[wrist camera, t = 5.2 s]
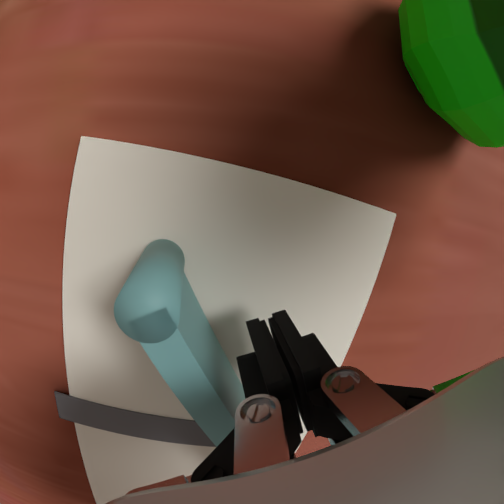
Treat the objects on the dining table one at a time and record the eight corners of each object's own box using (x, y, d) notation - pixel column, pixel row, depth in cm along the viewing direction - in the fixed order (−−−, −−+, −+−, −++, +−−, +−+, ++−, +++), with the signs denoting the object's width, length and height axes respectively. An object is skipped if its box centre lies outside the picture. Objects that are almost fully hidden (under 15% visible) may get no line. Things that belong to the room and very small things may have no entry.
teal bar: (281, 442, 16) (302, 500, 12) (255, 451, 16) (271, 510, 12) (173, 232, 12) (161, 272, 7) (134, 249, 12) (101, 297, 7)
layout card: (247, 519, 21) (248, 523, 21) (88, 502, 17) (88, 506, 17) (391, 212, 14) (397, 214, 14) (65, 134, 10) (61, 133, 10)
